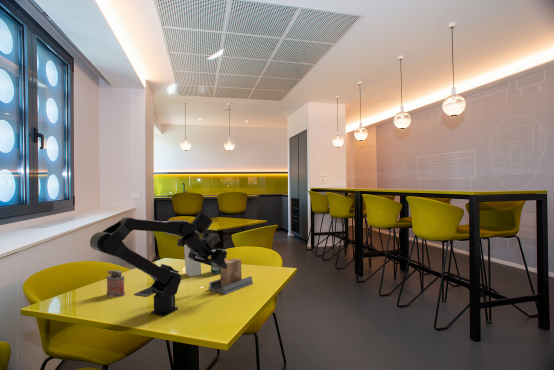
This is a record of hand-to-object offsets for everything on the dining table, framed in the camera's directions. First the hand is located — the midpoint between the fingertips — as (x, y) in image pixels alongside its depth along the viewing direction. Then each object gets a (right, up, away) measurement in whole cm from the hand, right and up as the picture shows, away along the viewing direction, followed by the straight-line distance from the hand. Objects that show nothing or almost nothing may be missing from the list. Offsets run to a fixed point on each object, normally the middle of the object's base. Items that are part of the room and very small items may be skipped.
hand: (218, 266), depth 118 cm
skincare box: (-18, -11, +25) cm, 33 cm away
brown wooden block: (+4, -9, +5) cm, 11 cm away
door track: (+4, -10, +5) cm, 12 cm away
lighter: (-42, -12, -1) cm, 44 cm away
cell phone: (-29, -12, +3) cm, 31 cm away
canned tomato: (-6, -11, +28) cm, 30 cm away
